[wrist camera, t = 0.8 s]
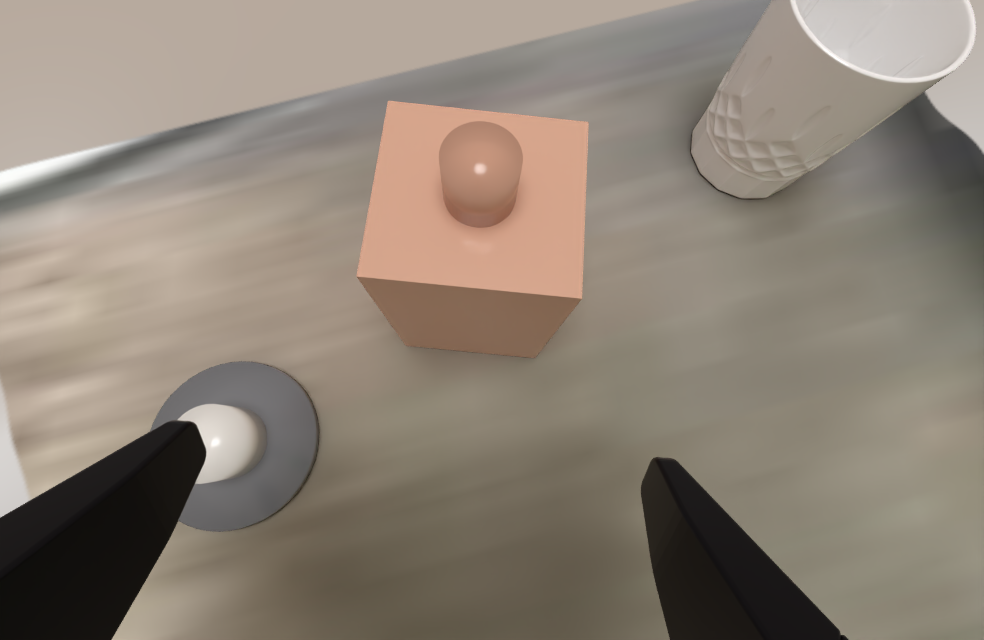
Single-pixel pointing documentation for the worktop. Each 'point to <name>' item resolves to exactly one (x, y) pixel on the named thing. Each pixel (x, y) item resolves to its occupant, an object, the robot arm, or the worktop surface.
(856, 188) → the worktop surface
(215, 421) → the white smooth rounded piece
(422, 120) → the pink square bottle
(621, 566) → the worktop surface
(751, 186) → the white cup
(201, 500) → the grey curved piece
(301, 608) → the worktop surface
